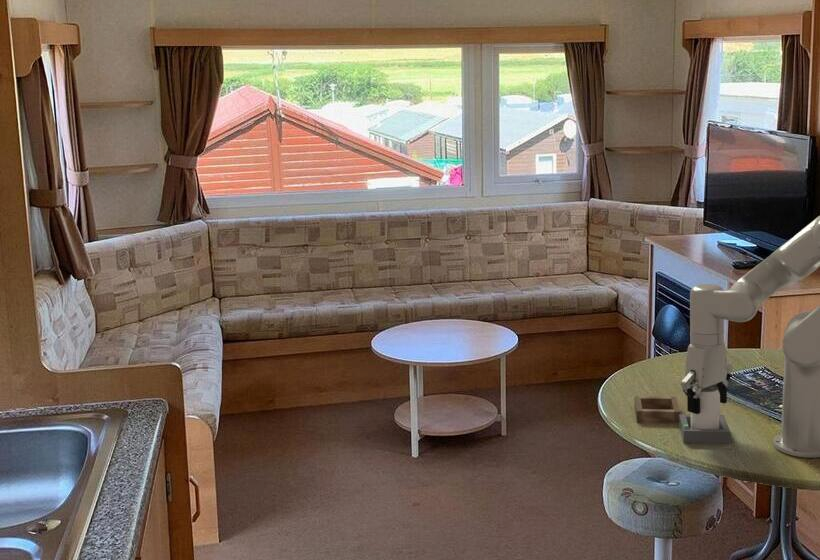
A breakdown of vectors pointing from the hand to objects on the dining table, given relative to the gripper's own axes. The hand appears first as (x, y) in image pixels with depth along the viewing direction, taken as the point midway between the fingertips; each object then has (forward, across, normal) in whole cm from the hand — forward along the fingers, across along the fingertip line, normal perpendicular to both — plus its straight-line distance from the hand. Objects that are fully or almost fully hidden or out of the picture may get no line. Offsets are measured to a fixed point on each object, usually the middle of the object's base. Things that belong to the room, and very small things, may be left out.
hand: (707, 407), depth 223 cm
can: (+7, 0, 0) cm, 7 cm away
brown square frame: (+7, -1, -16) cm, 18 cm away
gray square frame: (+7, 0, -1) cm, 7 cm away
